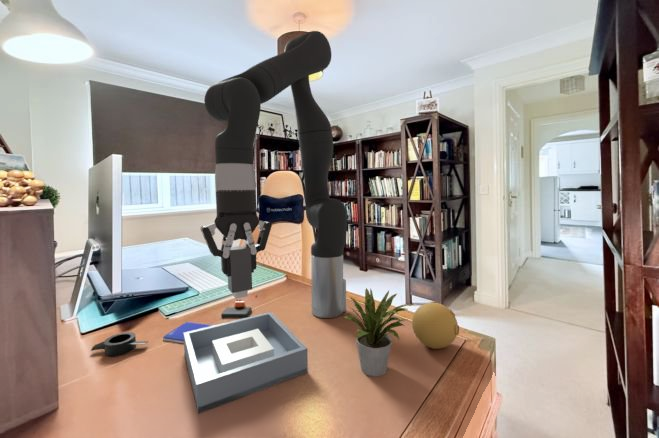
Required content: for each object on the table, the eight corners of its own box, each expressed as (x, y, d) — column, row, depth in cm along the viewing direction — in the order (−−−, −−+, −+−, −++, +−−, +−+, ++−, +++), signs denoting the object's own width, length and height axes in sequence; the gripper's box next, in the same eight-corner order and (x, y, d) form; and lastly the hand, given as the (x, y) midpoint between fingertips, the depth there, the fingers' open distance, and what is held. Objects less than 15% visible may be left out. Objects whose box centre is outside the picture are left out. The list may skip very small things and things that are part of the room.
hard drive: (162, 336, 70) (207, 342, 67) (187, 321, 78) (228, 326, 75) (163, 342, 71) (207, 349, 68) (187, 326, 79) (228, 332, 75)
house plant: (395, 409, 48) (397, 314, 46) (324, 380, 55) (324, 297, 54) (418, 364, 60) (421, 288, 58) (358, 346, 68) (358, 277, 66)
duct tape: (124, 338, 72) (123, 327, 72) (152, 346, 68) (151, 334, 68) (88, 354, 65) (87, 342, 65) (116, 365, 61) (115, 352, 61)
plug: (248, 291, 62) (246, 245, 61) (252, 296, 59) (250, 247, 58) (228, 295, 60) (226, 247, 59) (232, 300, 57) (230, 250, 56)
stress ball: (424, 362, 63) (465, 341, 59) (398, 320, 66) (435, 297, 62) (434, 348, 71) (470, 329, 67) (410, 311, 75) (443, 291, 71)
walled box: (271, 330, 75) (270, 311, 74) (307, 372, 58) (307, 348, 57) (184, 354, 64) (183, 332, 64) (198, 413, 48) (196, 384, 47)
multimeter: (232, 295, 101) (231, 285, 100) (266, 296, 100) (265, 286, 99) (205, 319, 83) (204, 307, 83) (246, 320, 82) (246, 309, 82)
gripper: (264, 187, 64) (266, 264, 66) (193, 188, 57) (198, 274, 59) (277, 188, 58) (279, 272, 60) (199, 188, 50) (204, 285, 52)
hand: (239, 273), depth 59 cm, fingers closed on plug, 4 cm apart
